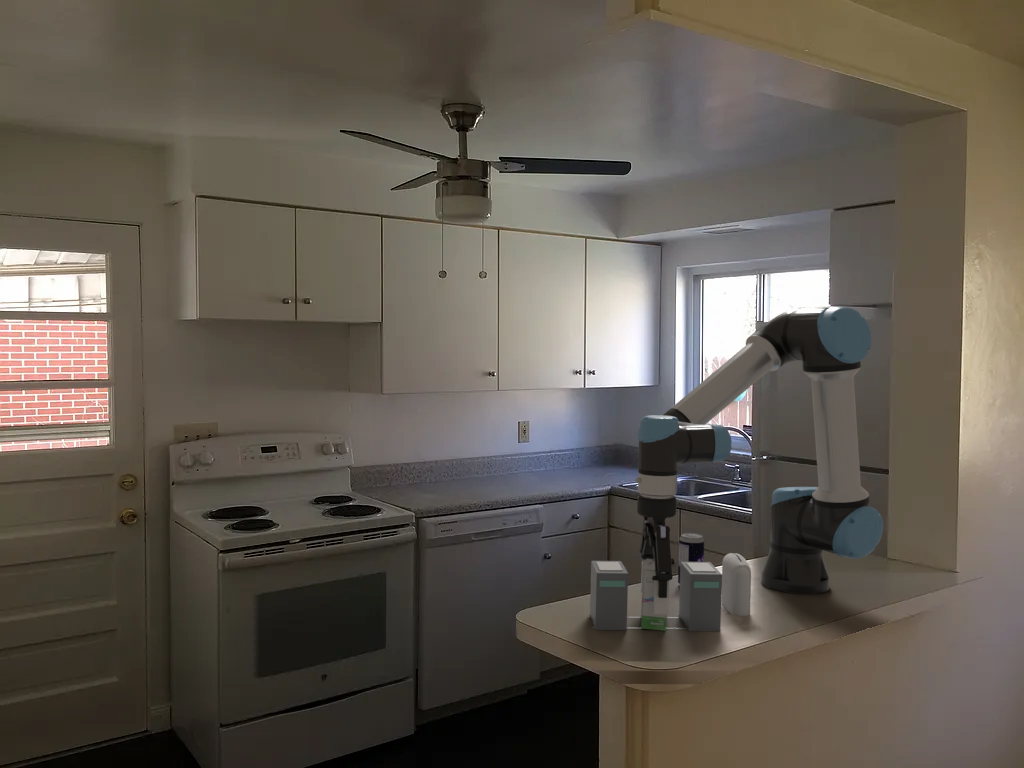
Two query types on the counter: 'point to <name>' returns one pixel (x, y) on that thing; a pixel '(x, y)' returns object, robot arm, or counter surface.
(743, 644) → the counter surface
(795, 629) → the counter surface
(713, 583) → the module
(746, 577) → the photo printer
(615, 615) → the module
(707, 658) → the counter surface
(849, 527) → the robot arm
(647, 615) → the ink box
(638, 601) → the counter surface
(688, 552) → the beverage can
